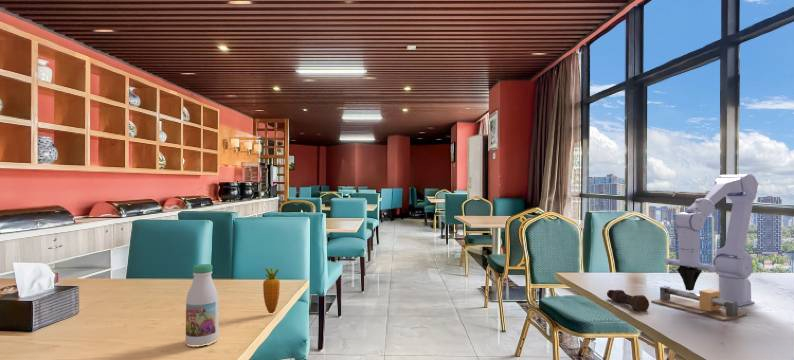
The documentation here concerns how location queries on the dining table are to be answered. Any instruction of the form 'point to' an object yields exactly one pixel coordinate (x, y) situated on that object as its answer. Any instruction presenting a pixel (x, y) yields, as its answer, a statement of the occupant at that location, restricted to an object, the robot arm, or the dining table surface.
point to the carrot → (271, 290)
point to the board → (696, 308)
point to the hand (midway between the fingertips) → (689, 289)
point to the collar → (709, 299)
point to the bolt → (629, 300)
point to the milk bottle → (202, 308)
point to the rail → (730, 305)
